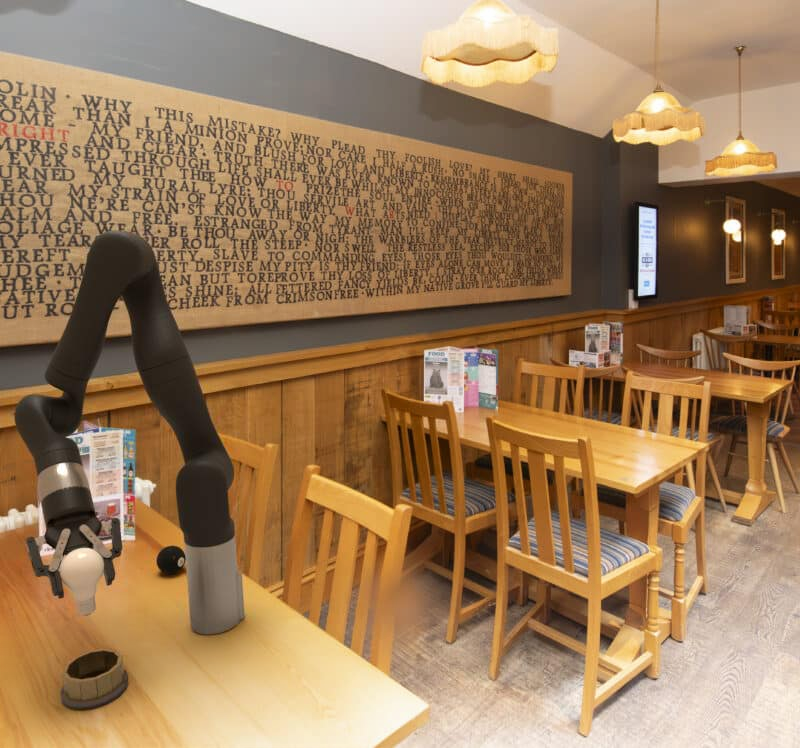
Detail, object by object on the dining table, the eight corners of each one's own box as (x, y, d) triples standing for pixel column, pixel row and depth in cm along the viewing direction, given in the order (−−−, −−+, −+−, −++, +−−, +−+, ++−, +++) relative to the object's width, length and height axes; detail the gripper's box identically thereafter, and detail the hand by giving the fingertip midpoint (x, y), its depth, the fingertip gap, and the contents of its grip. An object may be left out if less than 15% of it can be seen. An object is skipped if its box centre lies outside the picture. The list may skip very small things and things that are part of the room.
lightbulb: (91, 627, 101) (84, 560, 99) (55, 623, 102) (47, 557, 100) (117, 605, 107) (110, 542, 105) (83, 602, 108) (76, 539, 106)
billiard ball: (172, 580, 143) (170, 554, 142) (152, 575, 145) (149, 550, 144) (192, 568, 148) (190, 543, 147) (171, 564, 151) (169, 539, 150)
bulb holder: (114, 663, 113) (111, 639, 113) (139, 688, 106) (136, 663, 106) (51, 690, 106) (48, 665, 106) (74, 719, 99) (71, 692, 99)
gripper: (16, 495, 103) (34, 595, 95) (113, 476, 111) (137, 567, 104) (17, 516, 108) (33, 613, 101) (110, 497, 116) (132, 585, 109)
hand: (86, 589), depth 102 cm, fingers closed on lightbulb, 6 cm apart
